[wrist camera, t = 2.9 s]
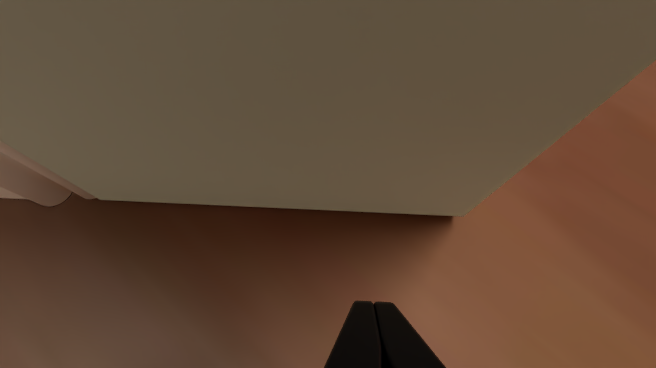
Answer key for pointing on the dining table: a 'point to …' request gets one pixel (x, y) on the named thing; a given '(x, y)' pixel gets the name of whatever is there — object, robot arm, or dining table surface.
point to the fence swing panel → (306, 95)
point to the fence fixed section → (28, 184)
